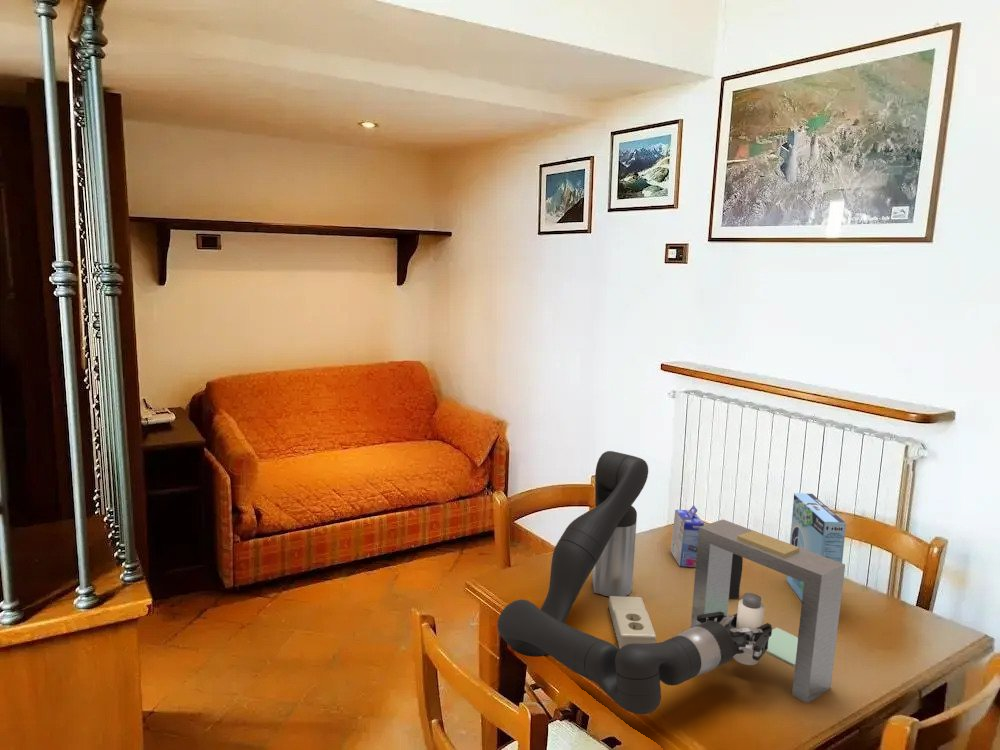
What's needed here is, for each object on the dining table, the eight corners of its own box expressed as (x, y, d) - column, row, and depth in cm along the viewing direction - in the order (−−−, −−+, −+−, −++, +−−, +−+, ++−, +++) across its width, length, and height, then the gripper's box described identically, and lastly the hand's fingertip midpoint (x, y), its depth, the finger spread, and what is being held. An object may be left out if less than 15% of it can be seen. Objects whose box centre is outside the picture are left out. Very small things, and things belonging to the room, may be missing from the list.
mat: (794, 666, 137) (794, 664, 137) (749, 643, 145) (749, 641, 145) (821, 650, 143) (821, 648, 143) (776, 629, 151) (776, 627, 151)
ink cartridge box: (701, 568, 180) (705, 514, 178) (679, 567, 180) (683, 514, 178) (690, 552, 190) (694, 501, 188) (670, 551, 190) (674, 500, 188)
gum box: (836, 621, 155) (848, 523, 152) (812, 619, 156) (823, 521, 152) (805, 581, 174) (814, 493, 171) (784, 580, 175) (793, 492, 171)
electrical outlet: (641, 593, 158) (656, 636, 140) (640, 610, 158) (655, 654, 141) (609, 592, 158) (620, 634, 140) (608, 608, 159) (619, 653, 141)
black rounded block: (735, 591, 168) (739, 546, 166) (740, 599, 164) (744, 553, 162) (706, 590, 168) (709, 545, 166) (710, 598, 164) (713, 551, 162)
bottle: (736, 664, 132) (743, 601, 130) (730, 650, 136) (736, 590, 134) (761, 666, 132) (768, 603, 130) (754, 652, 136) (760, 592, 134)
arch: (807, 703, 126) (822, 572, 122) (689, 638, 146) (699, 524, 142) (830, 688, 130) (845, 561, 126) (713, 627, 151) (723, 516, 147)
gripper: (668, 649, 131) (724, 624, 141) (733, 688, 119) (789, 658, 130) (671, 611, 130) (727, 589, 140) (738, 647, 118) (794, 620, 128)
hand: (757, 622), depth 135 cm, fingers closed on bottle, 4 cm apart
